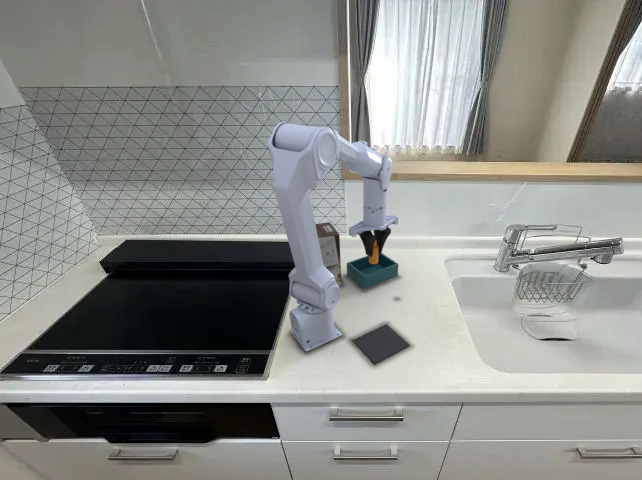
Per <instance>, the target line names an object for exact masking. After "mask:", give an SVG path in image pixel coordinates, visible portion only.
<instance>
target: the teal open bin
mask: <svg viewBox="0 0 642 480" xmlns="http://www.w3.org/2000/svg"><path fill="white" fill-rule="evenodd" d="M346 275H347V276H348V277H350V279H352V281H354V282H355V283H357V284H358V285H359V286H360V287H361V288H363V289H364V290H365V289H367V288H370V287H373V286H375V285H378V284H380V283H383V282H385V281H388V280H390V279H393V278H396V277H398V275H399V263H398V262H396V261H395V260H393V259H392V258H390V257H389V256H387V255H386V254H384V253H383V252H381V254H379V253H378V263H377V264H370V263H369V256H368V255H366V256H363V257H360V258H357V259H353V260H350V261H348V262H346Z"/></svg>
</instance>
